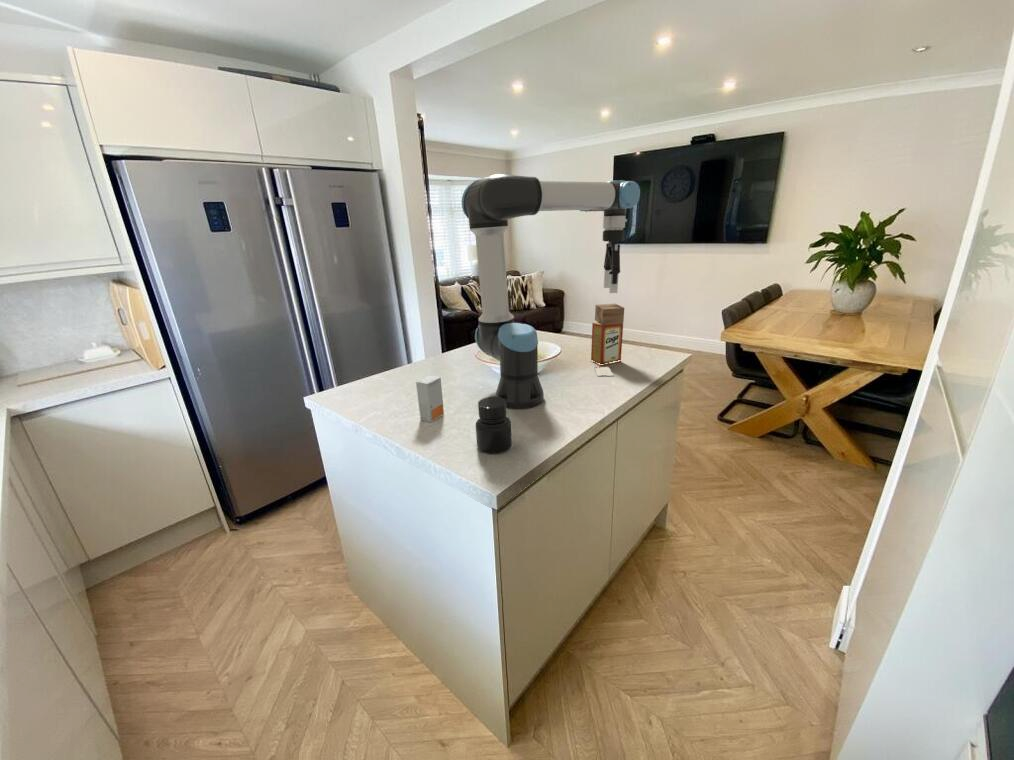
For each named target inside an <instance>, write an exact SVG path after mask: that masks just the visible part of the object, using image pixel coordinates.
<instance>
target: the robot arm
mask: <svg viewBox="0 0 1014 760" xmlns="http://www.w3.org/2000/svg"><path fill="white" fill-rule="evenodd" d="M640 197H641V188H640V185H639V184H638V183H637V182H636V181H634V180H623V179H621V180H620V179H619V180H609V181H557V180H555V181H553V180H552V181H549V180H545V181H544V180H540V179H539V178H538V177H536V176H523V175H514V174H502V173H497V174H493V175H490V176H487V177H482V178H478V179H476V180H473V182H471V183H469V185H467V186H466V187H465V189H464V190H463V193H462V196H461V209H462V211H463V214H464V216H466V217H467V219H468V223H469V231H470V232H472V234H474V236H475V246H476V247H475V248H476V257H477V268H478V278H479V287H480V288H479V289H480V300H481V301H480V302H481V310H482V313H481V315H480V316H479V317H478V326H477V328H476V329H475V332H474V340H475V344H476V345H477V347H478V348H479V349H480V350H481V352H483V353H484V354H485V355H486V356H488V357H489V356H490V357H491V358H493V359H495V360H497V361H499V368H500V369H499V370H500V371H499V372H500V377H499V382H498V386H497V389H496V392H495V397H500V398H503V399H504V400H506V409H507V408H508V409H515V410H516V409H518V410H519V409H523V410H524V409H530V408H533V407H537V406H539V405H541V404H542V403H543V401H544V398H545V397H544V395H545V393H544V390H543V387H542V384H541V381H540V377H539V372H538V369H539V365H538V361H539V358H538V357H539V356H538V354H539V351H538V344H539V340H538V332H537V330H536V329H535V328H534V327H533V326H532V325H529V324H526V323H520V322H515V315H513V314H512V313H511V312H510V310H509V295H508V293H509V292H508V279H507V265H506V264H507V263H506V252H505V251H506V250H505V249H506V248H505V232H506V231H507V229H508V228H509V220H511V219H515V218H519V217H525V216H526V217H527V216H536V215H538V213H539V212H552V211H553V212H555V211H557V212H559V211H560V212H561V211H580V212H585V213H588V212H603V217H602V218H603V223H602V229H603V231H602V241H603V242H607V243H605V246H606V247H605V254H604V255H605V256H604V261H603V271H604V273H603V288H604V289H608V291H609V292H608V293H609V294H618V287H619V276H620V275H619V274H620V273H621V255H620V253H621V244H620V243H619V242H623V241H624V240H625V234H626V233H625V229H624V228H626V223H627V222H628V219H627V218H626V216H627V209H633V208H634V207H635V206H637V204H638V203H639V200H640Z"/></svg>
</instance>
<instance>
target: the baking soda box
mask: <svg viewBox="0 0 1014 760" xmlns="http://www.w3.org/2000/svg"><path fill="white" fill-rule="evenodd" d="M623 331H624V323H623V324H614V325H601V324H600V323H598V322H597V321H596V322H592V327H591V353H590V354H591V356H590V361H591V360H593V361H595V362H597V363H600V364H605V363H609V362H613V361H618V360H621V361H622V348H623Z"/></svg>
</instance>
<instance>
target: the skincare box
mask: <svg viewBox="0 0 1014 760" xmlns="http://www.w3.org/2000/svg"><path fill="white" fill-rule="evenodd" d="M415 383H416V391H417V402H418V410H419V417H420V418H419V419H420V420H421V421H424V422H427V423H432V422H434V421H435V420H436V421H437V420H438V419H439V418H441V417H442V416H444V415H445V410H444V400H443V399H444V398H443V391H442V389H443V388H442V379H441V377H439V376H436V375H435V376H434V375H428V376H426V377H424V378H421V379H420V380H417V381H416V382H415Z"/></svg>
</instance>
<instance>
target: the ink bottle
mask: <svg viewBox="0 0 1014 760" xmlns="http://www.w3.org/2000/svg"><path fill="white" fill-rule="evenodd" d="M477 407H478V416H479V418H478V419H477V420H476V422H475V436H476V447H477V449H478V451H479V452H482V453H485V454H490V455H493V454H494V455H495V454H503V453H505V452H508V450H510V448H512V444H513V436H512V435H513V434H512V421H511V419H510V418H509V417H508V416H507V407H506V400H504V399H503V398H500V397H496V396H488V397H484V398H482V399H480V400H479V401H478V404H477Z"/></svg>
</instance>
